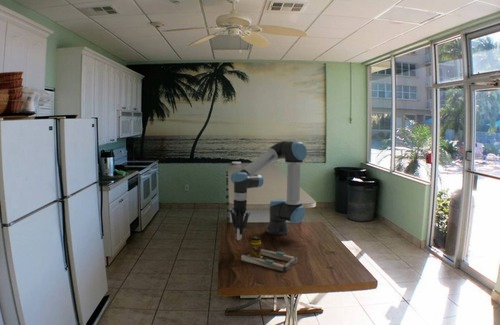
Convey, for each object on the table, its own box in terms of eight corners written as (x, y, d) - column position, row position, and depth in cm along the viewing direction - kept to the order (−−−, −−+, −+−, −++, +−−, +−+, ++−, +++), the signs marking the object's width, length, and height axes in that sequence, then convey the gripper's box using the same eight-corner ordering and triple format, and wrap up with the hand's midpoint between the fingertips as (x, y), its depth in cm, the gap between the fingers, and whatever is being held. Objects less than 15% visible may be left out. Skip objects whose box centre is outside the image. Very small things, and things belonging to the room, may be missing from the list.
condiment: (257, 261, 176) (258, 240, 174) (244, 257, 180) (244, 237, 179) (263, 256, 182) (264, 236, 181) (250, 253, 186) (251, 233, 185)
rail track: (254, 251, 189) (255, 246, 189) (297, 261, 176) (297, 256, 175) (241, 260, 176) (241, 254, 176) (285, 272, 163) (285, 265, 162)
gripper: (227, 198, 183) (226, 238, 185) (246, 202, 176) (245, 243, 178) (234, 196, 189) (233, 235, 191) (253, 199, 183) (252, 239, 185)
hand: (239, 239), depth 185 cm, fingers closed
